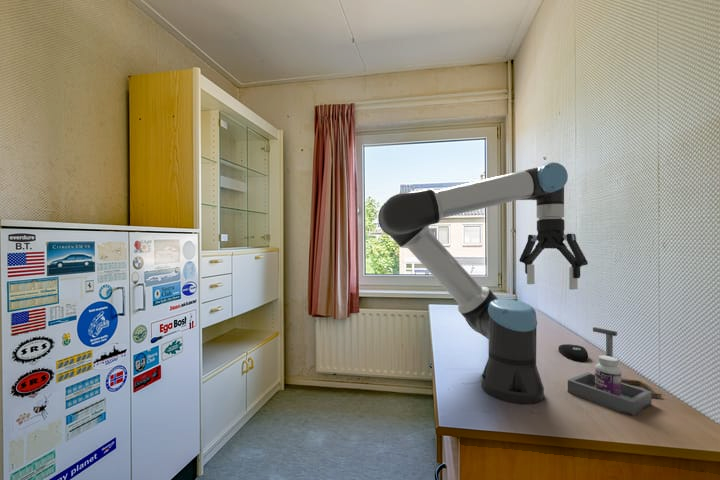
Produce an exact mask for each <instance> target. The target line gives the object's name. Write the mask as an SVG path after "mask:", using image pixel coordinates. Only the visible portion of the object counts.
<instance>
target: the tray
mask: <svg viewBox="0 0 720 480" xmlns="http://www.w3.org/2000/svg"><path fill="white" fill-rule="evenodd" d="M567 392H568V393H570V394H573V395H576V396H578V397H581V398H583V399H587V400H588V401H589V400H590V401H592V402H595V403H597V404H599V405H603V406H605V407H608V408H610V409H613V410H616V411H619V412H621V413H623V414H626V415H629V416H632V417H634V416H635V415H637V414H639V413H640V412H641V411H644V410H645V409H646V408H648V407H650V406H651V405H652V397H651V391H648V390H646V389H645V388H642V387H638V386H635V385H632V384H625V383H622V382H621V397H620V396H617V395H614V394H611V393H609V392H606V391H603V390H600V389H597V388H595V373H593V372H588V371H587V372H585V373H582V374H579V375H577V376H574V377H572V378H570V379H567Z"/></svg>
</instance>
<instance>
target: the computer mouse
mask: <svg viewBox="0 0 720 480" xmlns="http://www.w3.org/2000/svg"><path fill="white" fill-rule="evenodd" d="M558 352H559V353H560V354H561V355H562V356H563V357H565V358H566V359H568V360H571V361H575V362H579V363H587V362H589V353H588V351H587V349H586V347H584V346H581V345H577V344H572V343H568V344H567V343H566V344H560V345H559V346H558Z"/></svg>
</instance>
